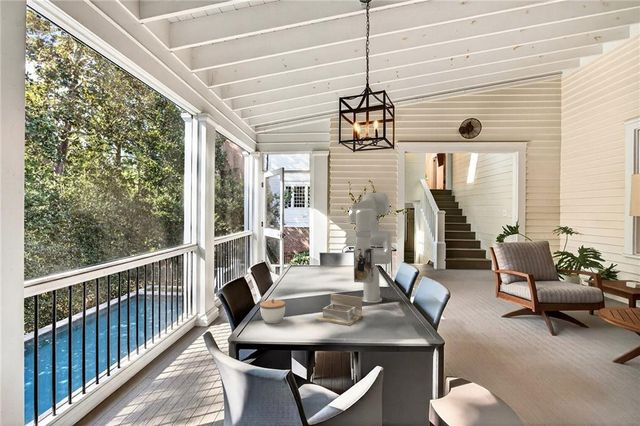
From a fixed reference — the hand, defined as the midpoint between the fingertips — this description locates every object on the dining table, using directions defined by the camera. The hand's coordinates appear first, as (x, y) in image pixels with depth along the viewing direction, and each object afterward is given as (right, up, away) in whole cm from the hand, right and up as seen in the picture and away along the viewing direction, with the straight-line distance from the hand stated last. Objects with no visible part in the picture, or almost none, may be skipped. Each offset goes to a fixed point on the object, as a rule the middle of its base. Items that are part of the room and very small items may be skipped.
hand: (363, 269), depth 179 cm
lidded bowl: (-45, -26, +1) cm, 52 cm away
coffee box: (0, -6, 0) cm, 6 cm away
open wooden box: (-12, -25, +5) cm, 28 cm away
